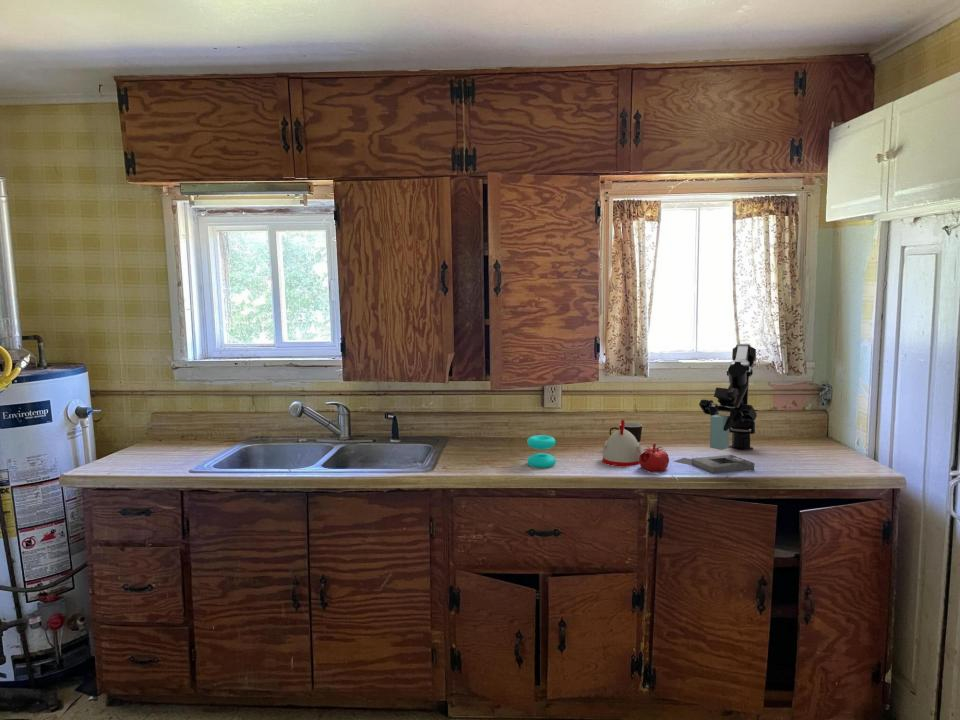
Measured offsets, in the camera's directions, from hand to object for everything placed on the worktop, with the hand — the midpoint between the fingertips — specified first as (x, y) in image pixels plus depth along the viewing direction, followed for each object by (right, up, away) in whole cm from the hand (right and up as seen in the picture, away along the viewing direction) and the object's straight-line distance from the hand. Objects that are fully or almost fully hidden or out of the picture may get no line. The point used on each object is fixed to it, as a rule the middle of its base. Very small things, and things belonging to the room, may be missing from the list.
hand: (717, 429), depth 211 cm
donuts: (-59, -14, +9) cm, 61 cm away
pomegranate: (-21, -14, +1) cm, 26 cm away
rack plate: (+2, -13, +2) cm, 14 cm away
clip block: (+1, -7, +2) cm, 7 cm away
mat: (-7, -13, +9) cm, 17 cm away
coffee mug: (-24, -11, +29) cm, 39 cm away
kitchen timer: (-30, -13, +12) cm, 35 cm away
